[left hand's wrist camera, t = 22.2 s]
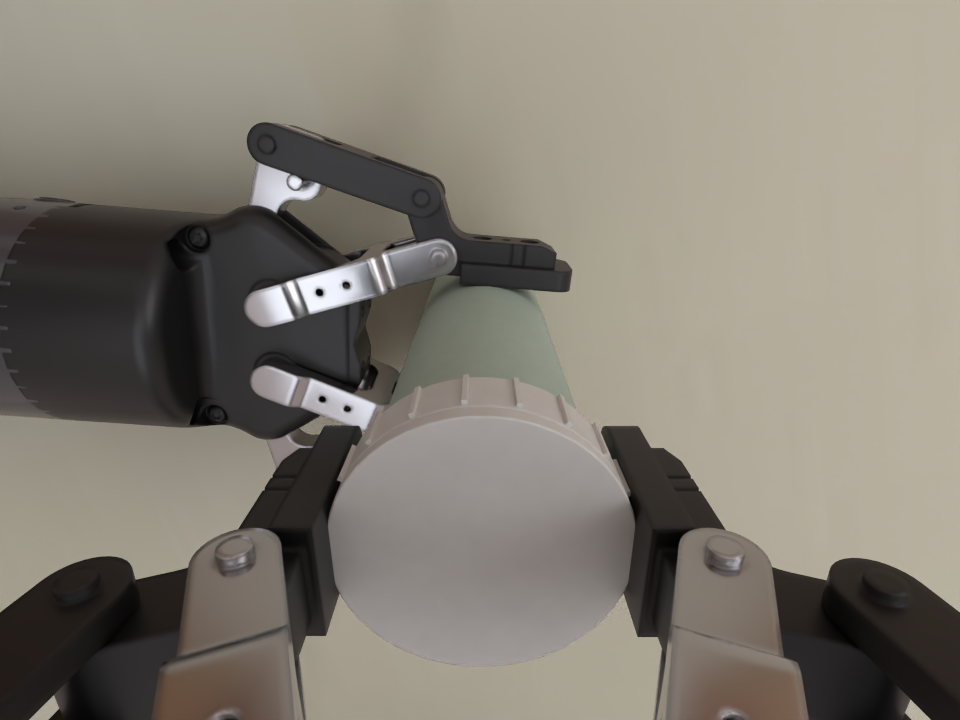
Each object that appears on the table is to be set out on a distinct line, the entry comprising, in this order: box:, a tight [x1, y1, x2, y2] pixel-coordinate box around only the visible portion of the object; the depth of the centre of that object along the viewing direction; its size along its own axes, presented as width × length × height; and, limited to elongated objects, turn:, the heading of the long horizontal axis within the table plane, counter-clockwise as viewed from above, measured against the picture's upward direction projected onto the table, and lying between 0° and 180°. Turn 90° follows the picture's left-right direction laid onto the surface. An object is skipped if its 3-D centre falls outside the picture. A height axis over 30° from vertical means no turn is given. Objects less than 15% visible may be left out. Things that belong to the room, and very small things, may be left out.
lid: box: [328, 374, 635, 667], centre depth 10 cm, size 6×6×2 cm
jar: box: [388, 275, 576, 409], centre depth 18 cm, size 5×5×17 cm
